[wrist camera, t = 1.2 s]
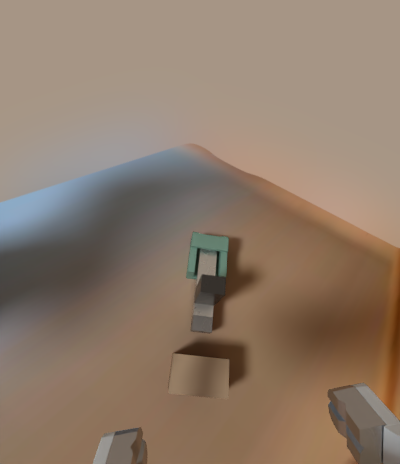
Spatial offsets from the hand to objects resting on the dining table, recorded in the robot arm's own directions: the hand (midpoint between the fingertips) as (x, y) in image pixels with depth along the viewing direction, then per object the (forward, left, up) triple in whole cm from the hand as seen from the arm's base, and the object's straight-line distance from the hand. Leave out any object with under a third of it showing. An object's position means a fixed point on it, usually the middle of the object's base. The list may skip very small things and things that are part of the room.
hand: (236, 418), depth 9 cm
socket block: (+1, 0, -24) cm, 24 cm away
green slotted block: (+1, +17, -24) cm, 29 cm away
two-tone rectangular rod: (+1, +13, -23) cm, 26 cm away
